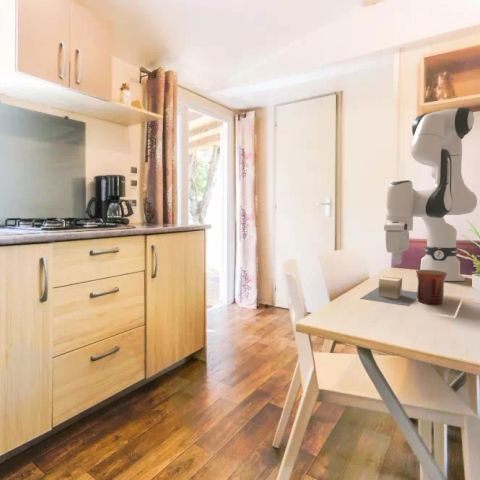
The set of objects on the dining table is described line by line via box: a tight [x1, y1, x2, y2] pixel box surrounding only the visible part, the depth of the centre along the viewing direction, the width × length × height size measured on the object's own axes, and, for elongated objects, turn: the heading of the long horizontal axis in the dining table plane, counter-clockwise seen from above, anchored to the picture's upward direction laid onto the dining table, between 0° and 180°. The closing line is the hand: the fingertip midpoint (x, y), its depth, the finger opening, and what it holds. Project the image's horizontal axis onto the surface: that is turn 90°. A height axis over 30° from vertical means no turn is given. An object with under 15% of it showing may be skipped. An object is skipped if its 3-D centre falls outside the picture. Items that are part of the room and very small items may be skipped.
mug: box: [415, 269, 447, 306], centre depth 108 cm, size 12×9×10 cm
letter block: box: [378, 276, 403, 299], centre depth 118 cm, size 6×6×6 cm
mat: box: [359, 286, 418, 307], centre depth 119 cm, size 22×15×1 cm
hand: (398, 263), depth 124 cm, fingers closed
